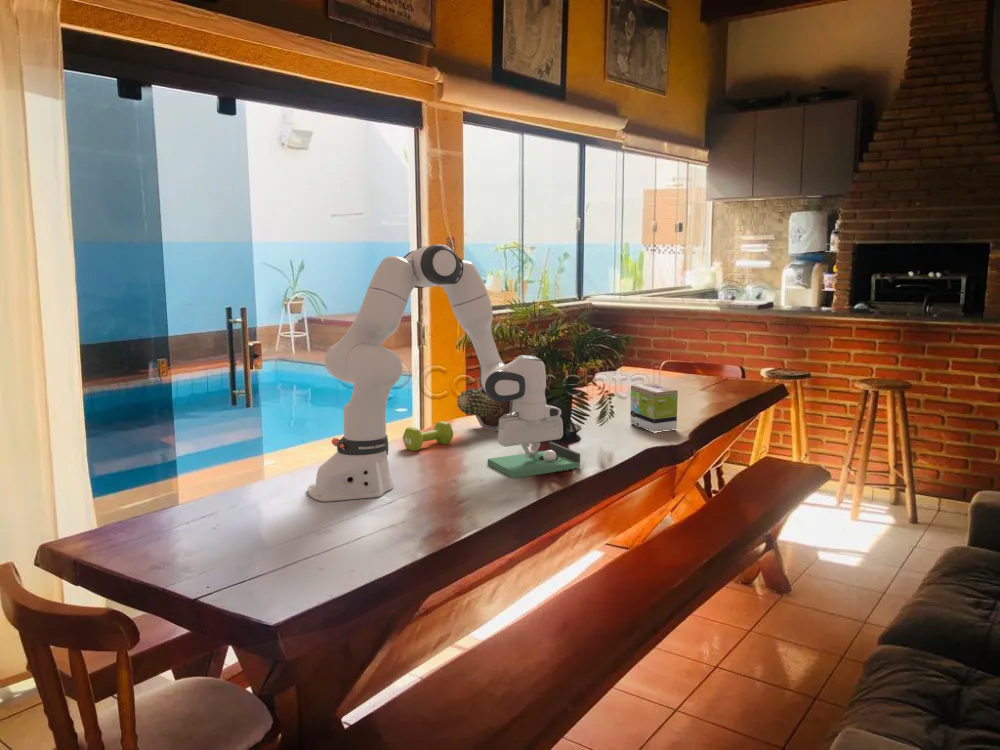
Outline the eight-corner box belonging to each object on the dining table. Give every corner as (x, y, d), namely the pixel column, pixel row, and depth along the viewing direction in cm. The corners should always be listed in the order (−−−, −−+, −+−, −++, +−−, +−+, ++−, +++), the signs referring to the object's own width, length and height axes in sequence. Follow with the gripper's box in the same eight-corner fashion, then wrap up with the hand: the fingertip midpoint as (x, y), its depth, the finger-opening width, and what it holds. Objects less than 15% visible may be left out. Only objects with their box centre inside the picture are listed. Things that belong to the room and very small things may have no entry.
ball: (549, 466, 237) (546, 454, 236) (542, 463, 241) (539, 451, 239) (560, 462, 239) (557, 449, 238) (553, 458, 242) (550, 446, 241)
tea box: (629, 425, 290) (629, 384, 288) (652, 422, 294) (653, 382, 292) (653, 434, 276) (654, 391, 274) (677, 431, 281) (679, 389, 278)
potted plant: (499, 380, 299) (446, 371, 275) (538, 388, 288) (487, 379, 264) (490, 427, 299) (437, 421, 275) (529, 436, 288) (477, 431, 264)
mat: (513, 478, 225) (513, 463, 224) (487, 464, 239) (487, 450, 238) (580, 468, 235) (580, 453, 234) (551, 455, 249) (551, 441, 248)
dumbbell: (415, 453, 252) (414, 431, 251) (400, 448, 258) (399, 426, 257) (455, 444, 263) (455, 423, 262) (440, 440, 269) (440, 419, 268)
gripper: (504, 416, 226) (504, 464, 229) (566, 409, 236) (565, 455, 238) (493, 412, 232) (494, 459, 234) (554, 405, 241) (554, 450, 243)
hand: (530, 457), depth 236 cm, fingers closed
